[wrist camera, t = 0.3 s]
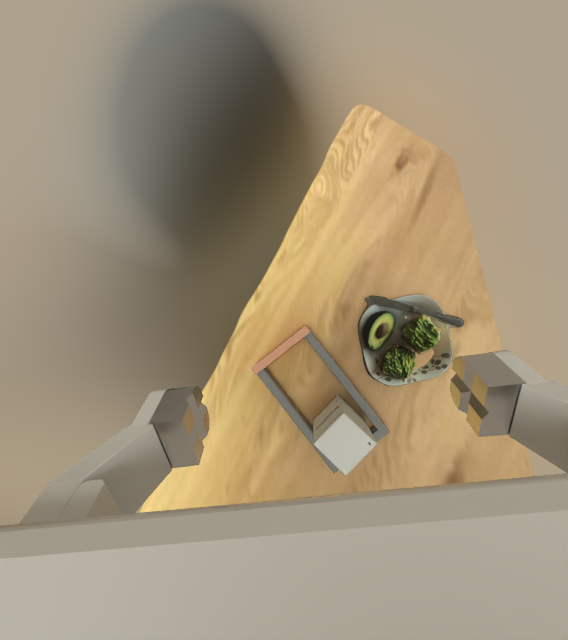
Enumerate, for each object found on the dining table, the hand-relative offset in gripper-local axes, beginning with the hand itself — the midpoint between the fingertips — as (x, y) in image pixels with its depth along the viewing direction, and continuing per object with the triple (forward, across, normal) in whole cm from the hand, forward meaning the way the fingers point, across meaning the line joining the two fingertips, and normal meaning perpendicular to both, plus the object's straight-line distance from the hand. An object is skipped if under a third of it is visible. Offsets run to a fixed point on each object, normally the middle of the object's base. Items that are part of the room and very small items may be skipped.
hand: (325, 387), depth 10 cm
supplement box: (+39, +4, -40) cm, 56 cm away
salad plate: (+45, +18, -27) cm, 56 cm away
